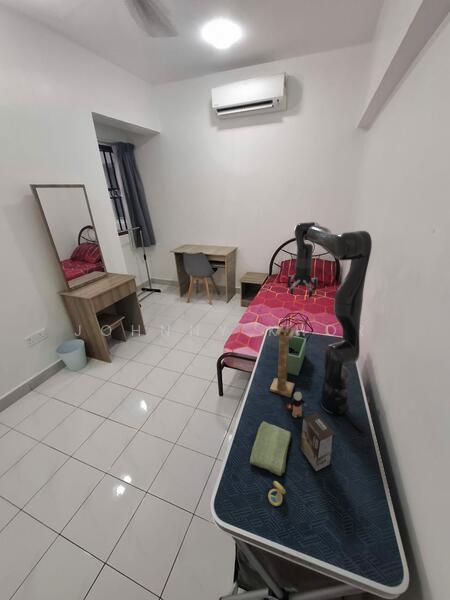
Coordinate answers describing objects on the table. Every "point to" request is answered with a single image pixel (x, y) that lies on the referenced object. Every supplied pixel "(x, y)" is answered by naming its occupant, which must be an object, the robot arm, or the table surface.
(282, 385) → the straw stand
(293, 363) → the bin
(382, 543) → the table surface
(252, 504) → the table surface
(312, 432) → the coffee box
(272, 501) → the eyeshadow
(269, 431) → the washcloth
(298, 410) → the grandmother figurine
